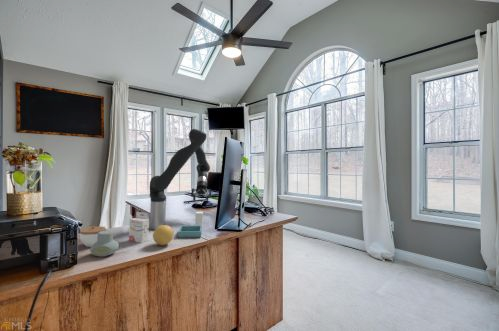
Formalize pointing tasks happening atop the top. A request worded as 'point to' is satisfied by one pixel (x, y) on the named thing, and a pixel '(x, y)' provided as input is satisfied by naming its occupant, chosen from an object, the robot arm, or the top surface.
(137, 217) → the ink cartridge box
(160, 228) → the stress ball
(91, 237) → the lidded jar
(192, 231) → the tray
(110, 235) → the air freshener
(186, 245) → the top surface
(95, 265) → the top surface
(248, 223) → the top surface
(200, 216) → the stop block
